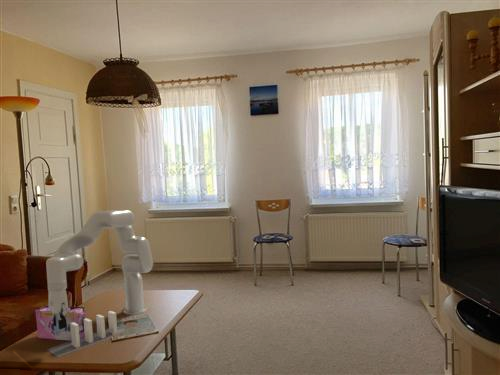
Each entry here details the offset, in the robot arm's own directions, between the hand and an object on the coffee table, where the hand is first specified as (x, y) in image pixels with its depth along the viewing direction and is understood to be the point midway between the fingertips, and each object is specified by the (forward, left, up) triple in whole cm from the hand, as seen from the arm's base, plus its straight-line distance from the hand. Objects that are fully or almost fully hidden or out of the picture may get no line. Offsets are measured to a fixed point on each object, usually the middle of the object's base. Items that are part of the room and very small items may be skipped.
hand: (60, 326), depth 178 cm
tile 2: (0, +18, -11) cm, 21 cm away
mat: (-1, +16, -11) cm, 20 cm away
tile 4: (0, +6, -11) cm, 13 cm away
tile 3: (0, +12, -11) cm, 16 cm away
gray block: (0, 0, -2) cm, 2 cm away
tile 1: (0, +24, -11) cm, 27 cm away
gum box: (-16, +7, -11) cm, 21 cm away
